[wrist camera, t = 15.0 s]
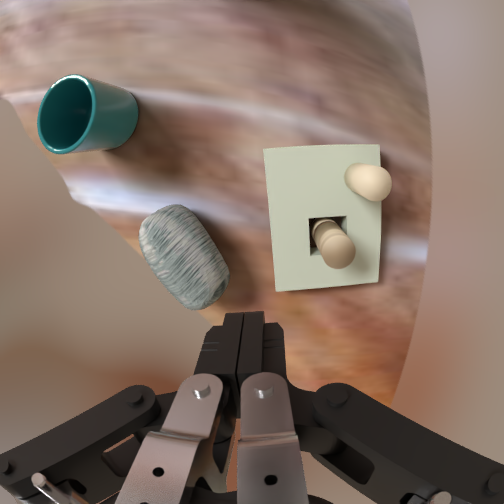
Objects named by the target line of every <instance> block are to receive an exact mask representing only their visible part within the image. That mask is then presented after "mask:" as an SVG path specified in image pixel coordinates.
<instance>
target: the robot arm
mask: <svg viewBox="0 0 504 504" xmlns="http://www.w3.org/2000/svg"><path fill="white" fill-rule="evenodd" d="M236 418H241V439H240V440H238V446H237V450H238V451H237V491H232V492H227V485H226V478H227V473H228V468H229V464H230V459H231V454H232V450H233V446H234V441H235V424H236ZM131 434H134V437H132V438H131V439H129V440H127V441H126V442H124V443H122V444H121V445H119V446H118V447H116V448H114V449H113V450H111V451H109V452H104V451H105V450H106V449H108V448H110V447H111V446H113V445H114V444H116V443H118V442H120V441H121V440H123V439H125V438H126V437H128V436H130V435H131ZM300 451H305V452H310V453H311V455H312V456H313V457H314V458H315V459H316V460H317V461H319V462H320V463H321V464H322V465H324V466H325V467H326V468H328V469H329V470H330V471H332V472H333V473H334V474H336V475H337V476H338V477H340V478H341V479H343V480H344V481H345V482H347V483H348V484H349V485H351V486H352V487H353V488H355V489H356V490H358V491H359V492H361V493H362V494H364V495H365V496H366V497H368V498H370V499H371V500H373V501H374V502H376V503H377V504H504V465H503V464H500V463H498V462H495V461H493V460H491V459H489V458H487V457H484V456H482V455H480V454H478V453H476V452H473V451H471V450H469V449H467V448H465V447H463V446H461V445H459V444H457V443H454V442H453V441H451V440H449V439H447V438H445V437H443V436H441V435H439V434H437V433H435V432H433V431H431V430H429V429H427V428H425V427H423V426H421V425H419V424H418V423H416V422H414V421H412V420H410V419H408V418H406V417H405V416H403V415H401V414H399V413H397V412H395V411H394V410H392V409H390V408H388V407H387V406H385V405H383V404H381V403H380V402H378V401H376V400H374V399H373V398H371V397H369V396H368V395H366V394H364V393H362V392H361V391H359V390H357V389H356V388H354V387H352V386H350V385H348V384H344V383H331V384H327V385H325V386H322V387H321V388H319V389H318V390H317V391H316V392H312V391H306V390H302V389H299V388H297V387H295V386H293V385H292V384H291V383H290V382H289V380H288V379H287V375H286V361H285V346H284V332H283V329H282V327H281V326H280V325H279V324H278V323H265V318H264V311H256V312H245V313H244V312H240V313H226V314H225V318H224V322H223V326H213V327H212V328H211V329H210V330H209V331H208V332H207V333H206V336H205V339H204V344H203V345H202V349H201V352H200V355H199V358H198V361H197V365H196V368H195V371H194V375H193V376H191V377H189V378H187V379H186V380H185V381H183V383H182V384H181V386H180V388H179V390H178V391H175V392H172V393H166V394H161V395H155V393H154V391H153V390H152V389H151V388H149V387H147V386H144V385H134V386H131V387H128V388H126V389H124V390H122V391H121V392H119V393H117V394H115V395H114V396H112V397H110V398H109V399H107V400H105V401H103V402H101V403H100V404H98V405H96V406H94V407H92V408H91V409H89V410H87V411H85V412H83V413H81V414H80V415H78V416H76V417H74V418H72V419H70V420H69V421H67V422H65V423H63V424H61V425H59V426H57V427H55V428H53V429H51V430H50V431H48V432H46V433H44V434H42V435H40V436H38V437H36V438H34V439H32V440H30V441H28V442H26V443H24V444H21V445H20V446H17V447H15V448H13V449H11V450H9V451H7V452H5V453H2V454H1V455H0V485H1V486H2V487H3V488H4V489H6V490H7V491H8V492H9V493H11V495H12V496H13V497H14V498H15V500H16V502H17V504H96V503H98V502H100V501H102V500H104V499H106V498H107V497H109V496H111V495H113V494H114V493H116V492H118V491H119V490H121V491H120V492H118V493H116V494H114V495H113V496H111V497H110V498H108V499H107V500H105V501H103V502H101V503H100V504H333V503H331V502H329V501H327V500H325V499H322V498H319V497H316V496H313V495H308V494H307V488H306V482H305V476H304V470H303V464H302V458H301V452H300Z"/></svg>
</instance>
